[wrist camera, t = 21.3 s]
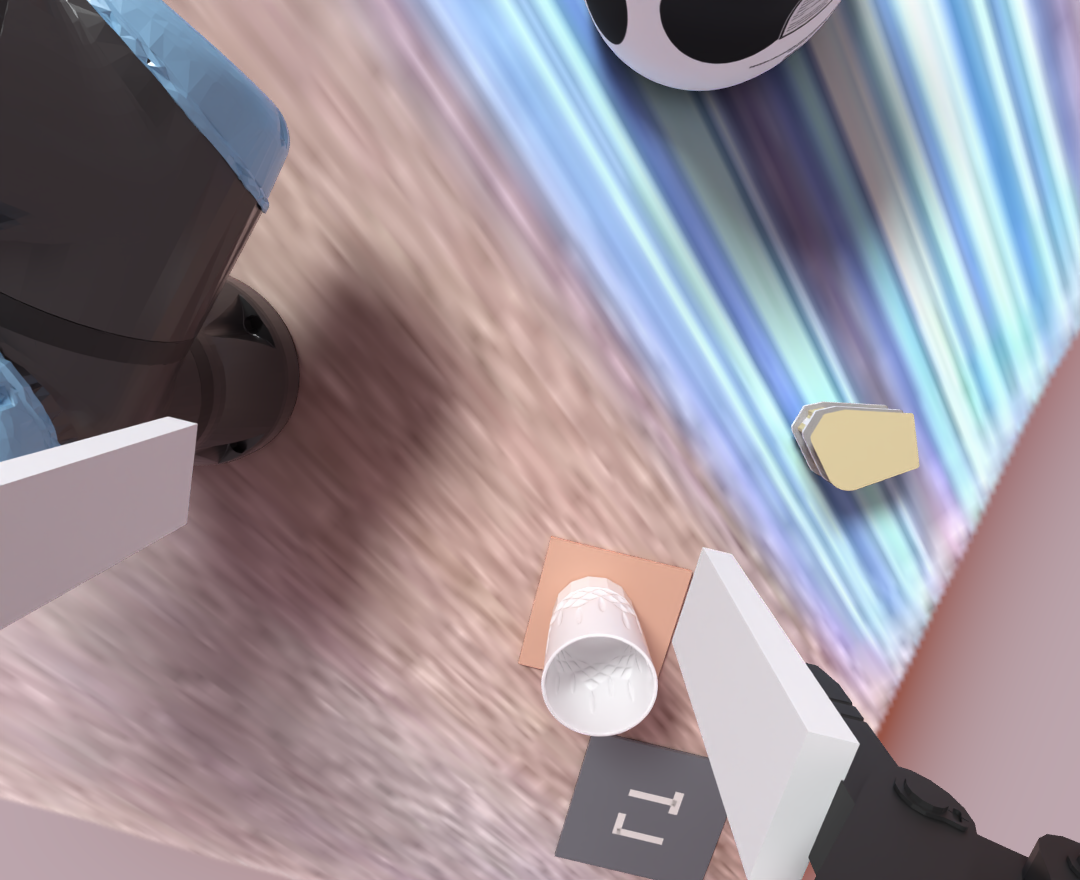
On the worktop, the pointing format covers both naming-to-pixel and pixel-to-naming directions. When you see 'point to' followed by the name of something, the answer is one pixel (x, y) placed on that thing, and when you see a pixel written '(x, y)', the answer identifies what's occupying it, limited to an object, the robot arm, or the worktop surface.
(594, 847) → the tile
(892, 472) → the stacked layers on plate
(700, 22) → the milk container
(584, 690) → the white cup
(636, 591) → the coaster
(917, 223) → the worktop surface
